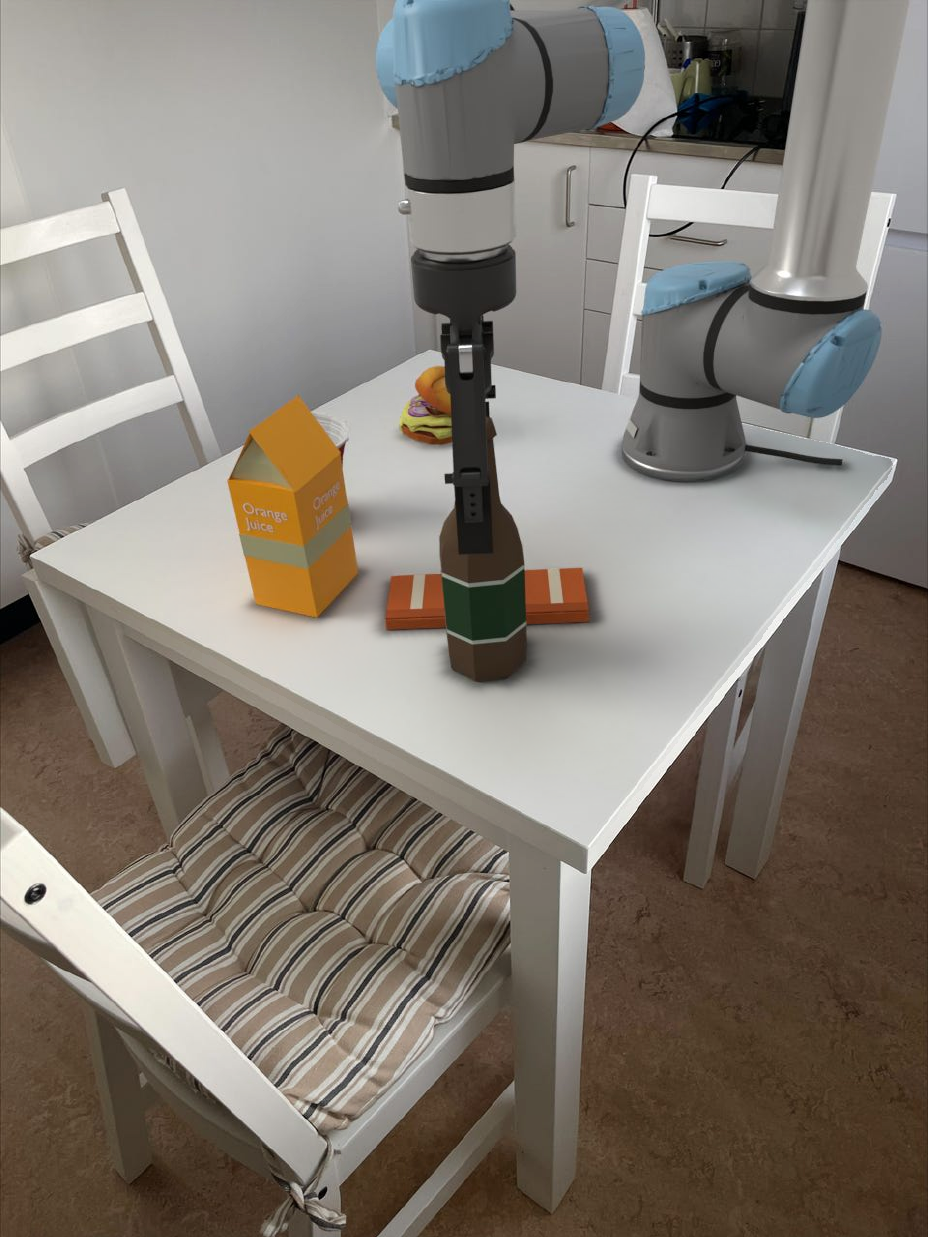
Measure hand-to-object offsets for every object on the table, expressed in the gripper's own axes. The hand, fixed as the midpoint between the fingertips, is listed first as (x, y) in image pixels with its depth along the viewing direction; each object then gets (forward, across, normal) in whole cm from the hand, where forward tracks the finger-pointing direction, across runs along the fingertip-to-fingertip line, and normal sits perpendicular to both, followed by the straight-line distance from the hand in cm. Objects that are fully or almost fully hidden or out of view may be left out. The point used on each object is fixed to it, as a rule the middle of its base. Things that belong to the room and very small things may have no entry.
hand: (476, 509), depth 80 cm
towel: (+16, -9, 0) cm, 18 cm away
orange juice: (+16, -13, -19) cm, 28 cm away
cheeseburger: (+16, -50, -6) cm, 53 cm away
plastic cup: (+16, -27, -20) cm, 37 cm away
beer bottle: (+16, 0, 0) cm, 16 cm away
